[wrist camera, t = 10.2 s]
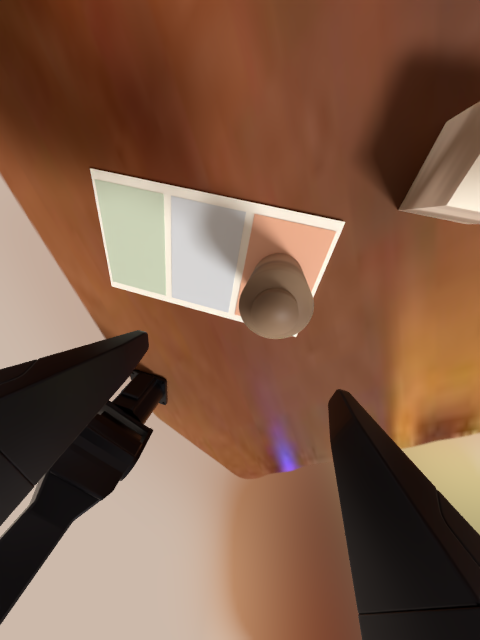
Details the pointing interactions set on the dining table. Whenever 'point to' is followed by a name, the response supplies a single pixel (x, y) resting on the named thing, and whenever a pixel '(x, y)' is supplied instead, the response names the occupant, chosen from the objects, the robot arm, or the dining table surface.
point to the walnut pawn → (276, 298)
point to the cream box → (450, 173)
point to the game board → (200, 241)
